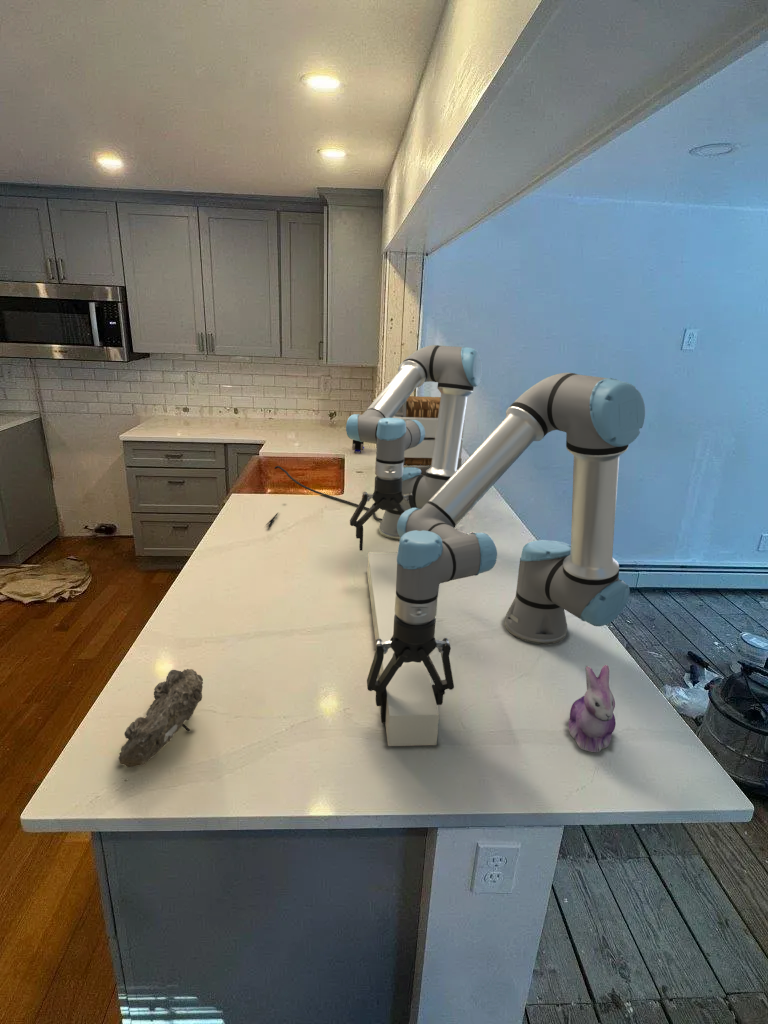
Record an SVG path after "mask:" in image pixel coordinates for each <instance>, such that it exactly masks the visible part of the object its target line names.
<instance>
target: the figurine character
mask: <svg viewBox="0 0 768 1024" xmlns="http://www.w3.org/2000/svg"><path fill="white" fill-rule="evenodd" d="M364 443H365V442H360V441H356V440H352V444H351V445H352V446H351V450H352V451H354V454H357V453H359V454H362V451H364V449H365V446H364Z"/></svg>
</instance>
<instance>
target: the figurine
mask: <svg viewBox="0 0 768 1024" xmlns="http://www.w3.org/2000/svg"><path fill="white" fill-rule="evenodd" d="M585 676H586V677H585V680H586V691H585V693H584V695H583V696H581V697H580V698H578V699H576V700H575V701H573V703H572V705H571V707H570V712H569V719H568V731H569V735H570V736H571V737H572V739H573V740H574V741H575V742H576V744H577V747H578V748H579V749H581V750H583V751H587V752H592V753H600V752H601V750H602V749H606V748H608V747H609V745H610V743H611V740H612V735H613V733H614V731H615V729H616V725H617V724H616V717H615V714H614V712H615V708H616V700H615V699H616V698H615V696H614V694H613V692H612V689H611V687H610V667H609V665H608V664H604V665H603V666H602V667H601V669H600V672H599V674H598V676H597V675H596V674H595V672H594V670H593V668H591V667H590V666H589V665H588V666H586V667H585Z"/></svg>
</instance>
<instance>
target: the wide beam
mask: <svg viewBox="0 0 768 1024" xmlns="http://www.w3.org/2000/svg"><path fill="white" fill-rule="evenodd" d="M397 555H398V551H367V571H366V572H367V573H366V575H367V583H368V590H369V599H370V609H371V616H372V622H373V623H372V625H373V632H374V634H373V635H374V643H376V640H377V639H381V640H382V641H389V640H390V639H391V638H392V636H393V629H394V616H395V596H396V578H397ZM393 654H394V651H393V650H392V648H389V649H388V651H387V653H386V654H384V658H383V662H382V665H381V668H380V671H379V674H378V676H379V677H380V676H381V674H382V673H383V671H384V669H385V668H386V666H387V665H388V663H389V662H390V660H391V659H392V657H393ZM432 685H433V684H432V679H431V676H430V674H429V672H428V670H427V668H426V667H425V665H424V663H423V661H421V662H409V663H403V664H402V666H401V667H399V668H398V670H397V671H396V673H395V675H394V676H393V678H392V679H391V681H390V682H389V684H388V685H387V687H386V690H387V704H386V722H385V723H384V724H385V733H386V741H387V747H411V746H412V747H414V746H416V747H417V746H437V745H438V732H439V721H440V713H439V708H438V705H437V704H436V700H435V696H434V692H433V688H432Z"/></svg>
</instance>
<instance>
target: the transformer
mask: <svg viewBox="0 0 768 1024" xmlns="http://www.w3.org/2000/svg"><path fill="white" fill-rule="evenodd" d="M440 399H441V396H415V395H414V396H413V395H412V396H411V395H410V396H409V397H408V399H407V400H406V401H405V403H404V404H403V405H402V406H401V408H400V409H399V410H398V411H397V413H396V414H395V415H394V417H393V418H399V419H403V420H404V421H406V420H417V421H419V422H420V423H421V424H422V425H423V427H424V429H425V437H424V440H423V441H422V442H421V443H420V444H418V445H417V446H416V447H413V448H410V449H407V450H405V451H404V463H403V468H404V467H405V466H406V467H410V466H411V467H417V466H418V467H431V464H432V456H433V449H434V442H435V435H436V428H437V420H438V413H439V406H440ZM464 422H465V419H464ZM464 429H465V423H464V424H463V431H462V437H461V444H460V451H459V458H458V465H457V470H458V469H459V468H460V467H461V465H462V461H463V460H462V453H463V442H464V441H463V440H462V439H463V438H464V431H465V430H464Z"/></svg>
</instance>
